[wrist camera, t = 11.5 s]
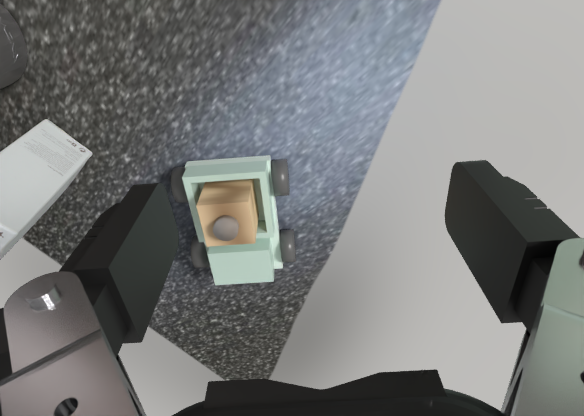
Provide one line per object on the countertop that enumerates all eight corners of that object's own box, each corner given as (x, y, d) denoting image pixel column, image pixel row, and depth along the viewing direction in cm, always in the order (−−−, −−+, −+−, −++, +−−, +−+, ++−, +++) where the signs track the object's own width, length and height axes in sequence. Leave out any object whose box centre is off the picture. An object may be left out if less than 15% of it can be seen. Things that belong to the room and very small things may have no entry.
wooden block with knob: (215, 216, 44) (205, 253, 38) (206, 178, 41) (194, 211, 36) (258, 213, 44) (254, 249, 38) (252, 174, 41) (247, 207, 35)
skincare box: (46, 116, 40) (-62, 186, 28) (97, 154, 43) (18, 233, 30) (11, 166, 44) (-101, 249, 31) (61, 199, 46) (-25, 287, 33)
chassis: (203, 258, 51) (193, 289, 46) (175, 155, 43) (161, 180, 38) (295, 252, 51) (296, 283, 46) (286, 147, 42) (285, 171, 38)
